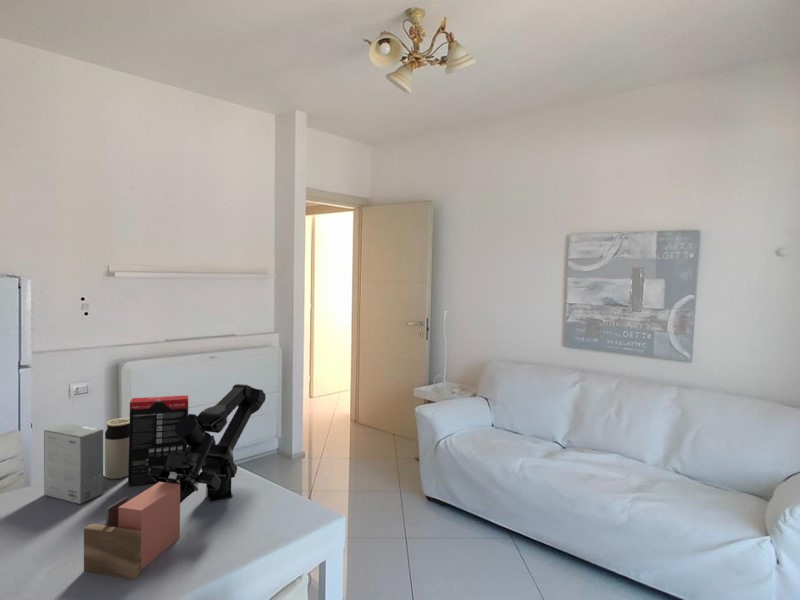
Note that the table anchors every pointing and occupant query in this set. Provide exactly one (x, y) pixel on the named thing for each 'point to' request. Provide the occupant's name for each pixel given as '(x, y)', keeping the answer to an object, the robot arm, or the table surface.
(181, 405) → the graphics card box
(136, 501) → the book box
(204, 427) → the robot arm
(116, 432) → the travel mug
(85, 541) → the shelf wall
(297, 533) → the table surface
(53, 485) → the hard drive box
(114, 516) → the bookend
